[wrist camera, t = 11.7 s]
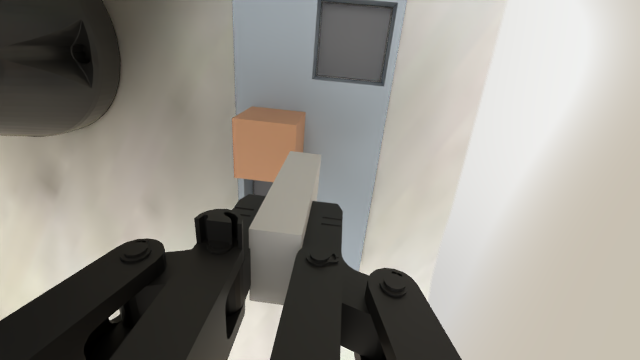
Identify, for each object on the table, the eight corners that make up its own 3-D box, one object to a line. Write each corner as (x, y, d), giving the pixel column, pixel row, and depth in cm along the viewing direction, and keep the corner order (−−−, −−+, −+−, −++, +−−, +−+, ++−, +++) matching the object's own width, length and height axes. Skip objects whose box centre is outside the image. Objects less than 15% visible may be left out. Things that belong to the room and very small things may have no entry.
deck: (357, 260, 30) (358, 299, 25) (248, 246, 30) (230, 281, 26) (427, -150, 17) (454, -219, 13) (242, -161, 18) (205, -231, 13)
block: (302, 163, 23) (293, 184, 20) (252, 157, 24) (234, 177, 20) (305, 112, 22) (296, 125, 18) (251, 106, 22) (232, 118, 18)
